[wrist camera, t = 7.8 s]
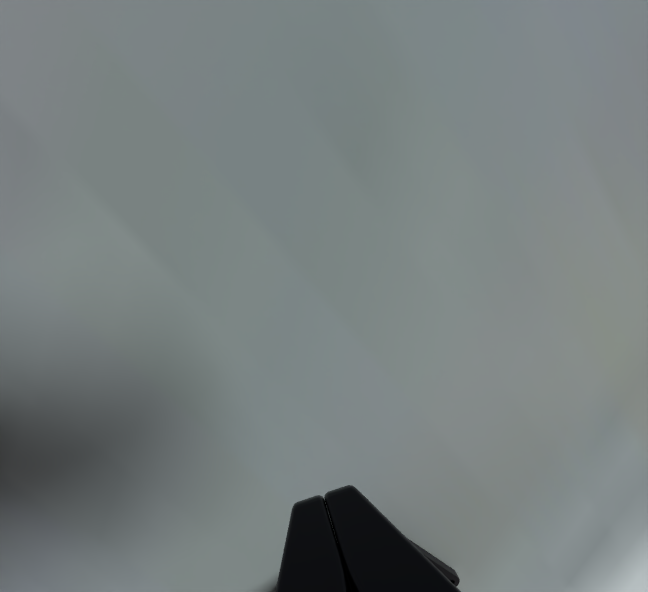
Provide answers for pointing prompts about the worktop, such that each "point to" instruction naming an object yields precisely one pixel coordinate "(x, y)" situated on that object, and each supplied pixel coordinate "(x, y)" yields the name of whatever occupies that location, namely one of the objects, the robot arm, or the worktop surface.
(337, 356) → the worktop surface
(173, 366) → the worktop surface
